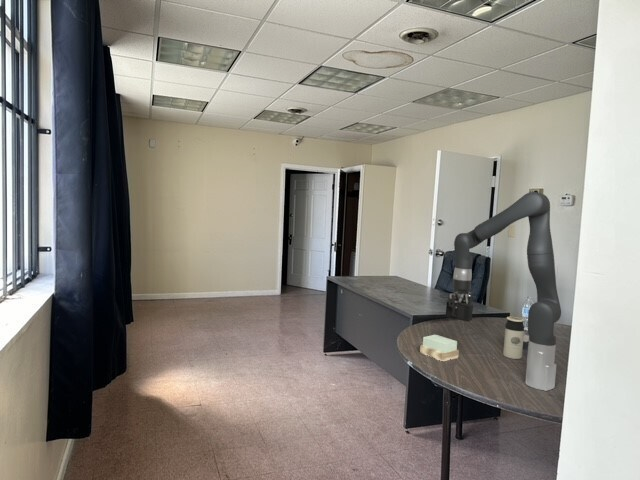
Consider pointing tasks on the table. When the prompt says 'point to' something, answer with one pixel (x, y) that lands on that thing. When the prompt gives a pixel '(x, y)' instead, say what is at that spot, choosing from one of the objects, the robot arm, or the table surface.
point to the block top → (440, 343)
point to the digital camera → (460, 311)
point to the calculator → (525, 341)
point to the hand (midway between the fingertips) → (458, 315)
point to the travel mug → (513, 338)
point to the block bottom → (439, 353)
